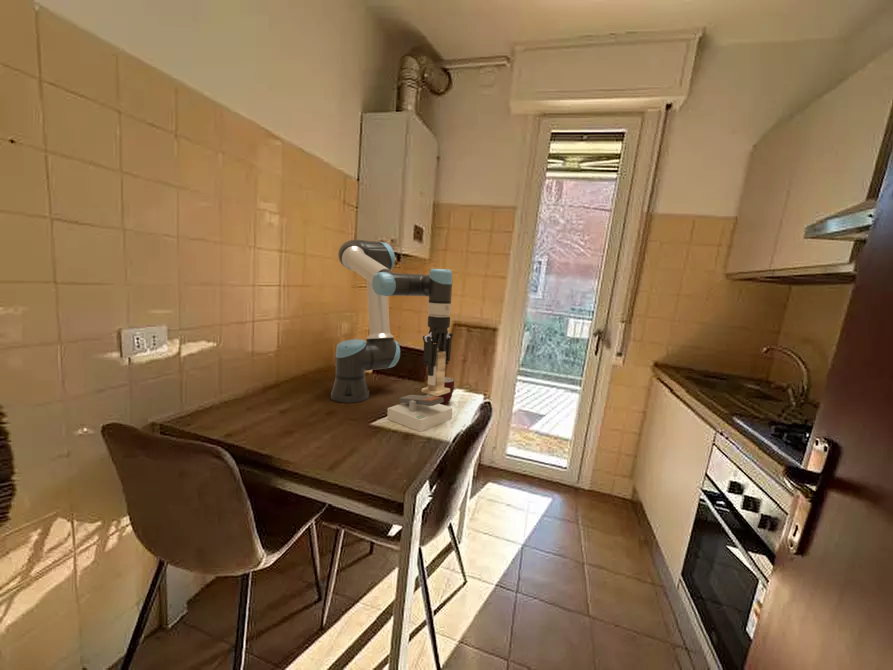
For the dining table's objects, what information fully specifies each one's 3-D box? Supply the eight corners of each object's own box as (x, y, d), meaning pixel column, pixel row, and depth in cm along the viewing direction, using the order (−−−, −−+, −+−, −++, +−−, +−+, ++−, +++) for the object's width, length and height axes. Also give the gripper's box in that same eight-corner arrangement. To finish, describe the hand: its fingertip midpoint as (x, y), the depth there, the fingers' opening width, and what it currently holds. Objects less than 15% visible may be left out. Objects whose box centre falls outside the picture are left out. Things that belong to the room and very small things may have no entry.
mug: (449, 409, 147) (451, 385, 145) (429, 407, 149) (430, 382, 147) (454, 401, 157) (455, 378, 156) (435, 399, 159) (436, 376, 157)
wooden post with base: (421, 391, 130) (423, 351, 128) (434, 387, 135) (436, 348, 133) (437, 396, 126) (439, 354, 123) (450, 392, 131) (452, 351, 129)
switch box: (387, 418, 134) (387, 398, 133) (419, 407, 148) (420, 388, 147) (420, 431, 125) (421, 410, 124) (451, 418, 138) (453, 398, 137)
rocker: (399, 402, 138) (398, 397, 138) (410, 398, 143) (410, 394, 142) (432, 405, 128) (432, 400, 128) (443, 401, 133) (443, 396, 133)
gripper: (431, 318, 118) (428, 390, 121) (463, 315, 131) (459, 380, 134) (413, 315, 122) (411, 385, 126) (446, 313, 135) (443, 376, 139)
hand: (436, 383), depth 130 cm, fingers closed on wooden post with base, 4 cm apart
